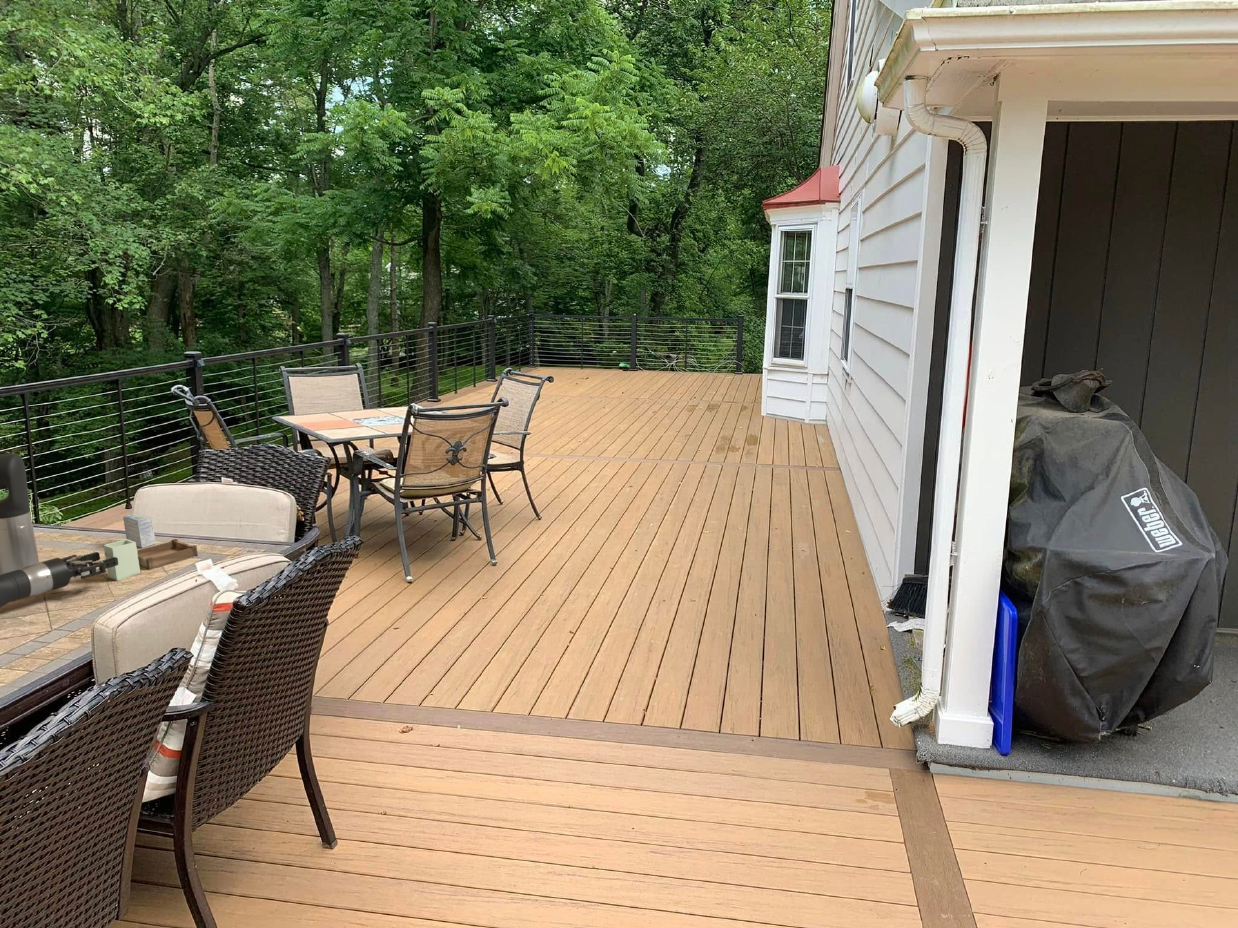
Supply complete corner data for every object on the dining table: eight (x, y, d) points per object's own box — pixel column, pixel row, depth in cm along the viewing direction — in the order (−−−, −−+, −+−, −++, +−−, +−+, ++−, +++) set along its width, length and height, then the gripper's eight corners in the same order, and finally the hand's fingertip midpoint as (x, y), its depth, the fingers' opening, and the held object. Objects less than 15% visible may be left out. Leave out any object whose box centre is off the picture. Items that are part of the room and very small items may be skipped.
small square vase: (107, 577, 238) (102, 545, 236) (132, 570, 243) (127, 538, 241) (116, 581, 235) (111, 548, 233) (141, 574, 240) (136, 542, 238)
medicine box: (156, 544, 265) (152, 516, 263) (141, 548, 261) (137, 520, 259) (141, 540, 269) (137, 512, 267) (126, 544, 266) (122, 516, 264)
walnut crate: (129, 561, 250) (127, 551, 249) (176, 548, 260) (175, 538, 260) (149, 569, 243) (147, 559, 242) (197, 555, 254) (196, 545, 253)
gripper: (55, 567, 216) (121, 548, 230) (25, 558, 224) (90, 540, 237) (60, 596, 218) (125, 576, 232) (30, 586, 225) (95, 567, 239)
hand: (107, 558), depth 234 cm, fingers open, 8 cm apart
